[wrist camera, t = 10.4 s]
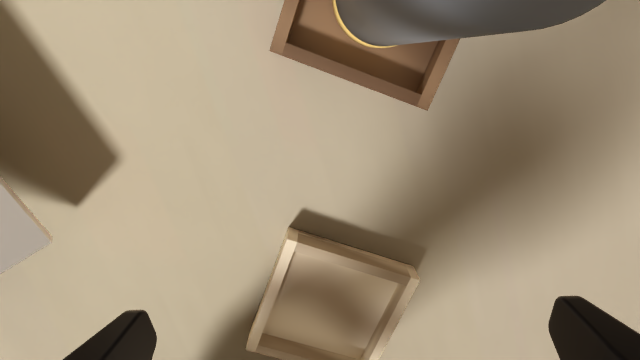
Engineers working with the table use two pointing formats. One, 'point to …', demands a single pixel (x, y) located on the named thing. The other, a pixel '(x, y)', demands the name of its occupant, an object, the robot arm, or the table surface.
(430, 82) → the walnut socket
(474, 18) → the banded sleeve
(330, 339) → the pale maple socket
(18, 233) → the pizza boxes
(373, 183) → the table surface
